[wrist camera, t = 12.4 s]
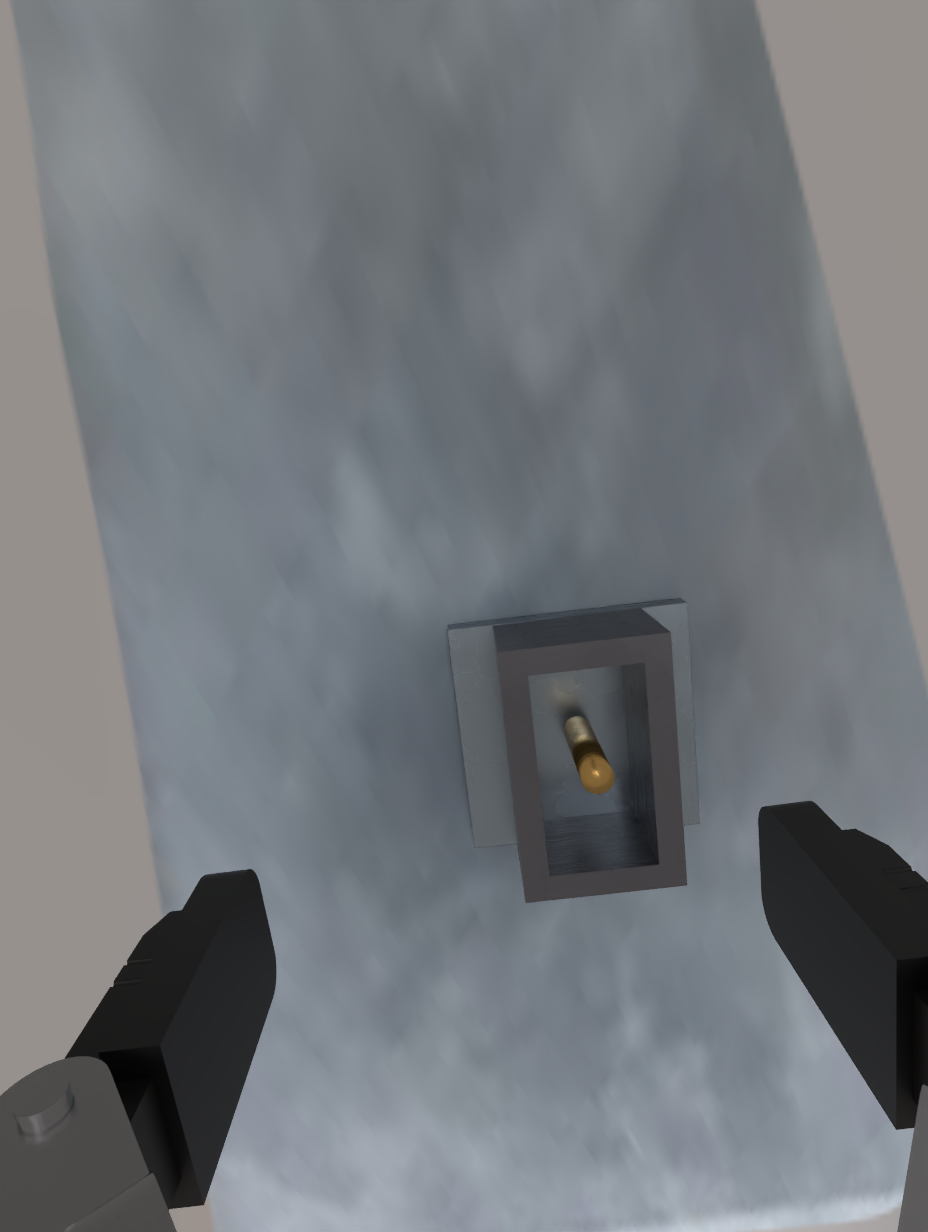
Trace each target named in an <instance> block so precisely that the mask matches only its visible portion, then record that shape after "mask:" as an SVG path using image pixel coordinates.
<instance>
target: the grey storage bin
mask: <svg viewBox="0 0 928 1232" xmlns="http://www.w3.org/2000/svg"><path fill="white" fill-rule="evenodd" d="M492 626H493V635H494V644H495V652H496V661H497V670H498V679H499V688H500V696H501V705H502V714H503V723H504V731H505V740H506V749H507V758H508V766H509V775H510V784H511V793H512V802H513V810H514V819H515V828H516V837H517V845H518V852H519V859H520V866H521V873H522V880H523V887H524V894H525V901H526V903H529V902H538V901H547V900H556V899H566V898H575V897H584V896H593V895H603V894H612V893H621V892H630V891H640V890H649V889H658V888H667V887H677V886H686V885H687V876H686V860H685V845H684V829H683V813H682V797H681V782H680V766H679V750H678V735H677V719H676V703H675V688H674V672H673V656H672V640H671V632H670V631H669V630H668V629H666V628H665V627H664V626H663V625H661V624H660V623H659V622H658V621H656V620H655V619H654V618H653V617H652V616H650V615H649V614H648V613H647V612H645V611H644V610H643V609H642V608H636V609H627V610H619V611H610V612H601V613H593V614H584V615H576V616H567V617H559V618H550V619H541V620H533V621H524V622H516V623H507V624H499V625H492ZM619 665H621V669H622V682H623V695H624V707H625V720H626V733H627V746H628V758H629V771H630V784H631V796H632V809H633V810H628V811H619V812H610V813H601V814H592V815H583V816H574V817H565V818H556V819H547V820H543V813H542V803H541V794H540V784H539V775H538V765H537V756H536V746H535V737H534V727H533V718H532V708H531V699H530V689H529V680H528V676H532V675H541V674H549V673H558V672H567V671H575V670H584V669H593V668H602V667H610V666H619Z"/></svg>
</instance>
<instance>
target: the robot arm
mask: <svg viewBox="0 0 928 1232" xmlns="http://www.w3.org/2000/svg"><path fill="white" fill-rule="evenodd" d="M758 826H759V848H760V870H761V892H762V901H763V907H764V911H765V915H766V919H767V922H768V925H769V927H770V930H771V932H772V934H773V936H774V938H775V940H776V941H777V943H778V944H779V946H780V948H781V949H782V951H783V952H784V954H785V955H786V957H787V959H788V960H789V962H790V963H791V965H792V966H793V968H794V970H795V971H796V973H797V974H798V976H799V977H800V979H801V981H802V982H803V984H804V985H805V987H806V989H807V990H808V992H809V993H810V995H811V996H812V998H813V1000H814V1001H815V1003H816V1004H817V1006H818V1007H819V1009H820V1011H821V1012H822V1014H823V1015H824V1017H825V1018H826V1020H827V1022H828V1023H829V1025H830V1026H831V1028H832V1029H833V1031H834V1033H835V1034H836V1036H837V1037H838V1039H839V1040H840V1042H841V1044H842V1045H843V1047H844V1048H845V1050H846V1052H847V1053H848V1055H849V1056H850V1058H851V1059H852V1061H853V1063H854V1064H855V1066H856V1067H857V1069H858V1070H859V1072H860V1074H861V1075H862V1077H863V1078H864V1080H865V1081H866V1083H867V1085H868V1086H869V1088H870V1089H871V1091H872V1092H873V1094H874V1096H875V1097H876V1099H877V1100H878V1102H879V1103H880V1105H881V1107H882V1108H883V1110H884V1111H885V1113H886V1115H887V1116H888V1118H889V1119H890V1121H891V1122H892V1124H893V1126H894V1127H895V1129H896V1130H898V1129H907V1128H914V1134H913V1140H912V1146H911V1152H910V1158H909V1164H908V1170H907V1176H906V1183H905V1189H904V1195H903V1201H902V1207H901V1214H900V1219H899V1226H898V1231H897V1232H928V882H927V881H926V880H925V879H924V878H923V877H921V876H920V875H919V874H918V873H917V872H916V871H912V869H911V866H910V865H909V864H908V863H907V862H906V861H904V860H903V859H902V858H901V857H900V856H899V855H898V854H897V853H896V852H895V851H894V850H893V849H892V848H891V847H890V846H889V845H887V844H885V843H883V842H881V841H879V840H877V839H875V838H873V837H871V836H869V835H867V834H865V833H863V832H861V831H859V830H857V829H849V830H841V829H840V828H839V827H838V826H837V825H836V824H835V823H834V822H833V821H832V820H831V819H830V818H829V817H828V816H827V815H826V814H825V813H824V812H823V810H822V809H821V808H820V807H819V806H818V805H817V804H815V803H814V802H812V801H805V802H797V803H789V804H781V805H773V806H765V807H762V808H761V809H760V812H759V818H758ZM275 985H276V957H275V951H274V946H273V942H272V938H271V933H270V929H269V924H268V920H267V915H266V911H265V906H264V902H263V897H262V893H261V888H260V884H259V880H258V877H257V875H256V873H255V872H254V871H253V870H252V869H248V870H240V871H232V872H224V873H216V874H208V875H204V876H203V877H202V878H201V879H200V881H199V882H198V884H197V886H196V887H195V889H194V891H193V892H192V894H191V896H190V898H189V899H188V901H187V903H186V904H185V906H184V908H183V909H182V910H180V911H172V912H170V913H168V914H167V915H166V916H165V917H164V918H163V919H161V920H160V921H159V922H158V923H157V924H156V925H154V926H153V927H152V928H151V929H150V930H149V931H148V932H147V933H145V934H144V935H143V937H142V938H141V940H140V941H139V943H138V944H137V946H136V948H135V949H134V951H133V952H132V954H131V955H130V957H129V958H128V960H127V965H125V966H123V968H122V969H121V971H120V973H119V974H118V976H117V977H116V979H115V980H114V986H113V987H110V988H109V990H108V991H107V993H106V994H105V996H104V998H103V999H102V1001H101V1002H100V1004H99V1005H98V1007H97V1009H96V1010H95V1012H94V1013H93V1015H92V1016H91V1018H90V1020H89V1021H88V1023H87V1024H86V1026H85V1027H84V1029H83V1030H82V1032H81V1034H80V1035H79V1037H78V1038H77V1040H76V1042H75V1043H74V1045H73V1046H72V1048H71V1049H70V1051H69V1052H68V1054H67V1056H66V1057H65V1059H63V1060H59V1061H56V1062H53V1063H51V1064H48V1065H46V1066H44V1067H42V1068H39V1069H37V1070H35V1071H34V1072H32V1073H30V1074H29V1075H27V1076H25V1077H24V1078H22V1079H21V1080H20V1081H18V1082H17V1083H15V1084H14V1085H13V1086H11V1087H10V1088H9V1089H8V1090H6V1091H5V1092H4V1093H3V1094H2V1095H1V1096H0V1232H177V1231H176V1229H175V1226H174V1223H173V1221H172V1218H171V1216H170V1213H169V1209H173V1208H182V1207H191V1206H199V1205H204V1203H205V1200H206V1197H207V1194H208V1191H209V1188H210V1185H211V1182H212V1179H213V1176H214V1173H215V1170H216V1167H217V1164H218V1161H219V1158H220V1155H221V1152H222V1149H223V1146H224V1143H225V1140H226V1137H227V1134H228V1131H229V1128H230V1125H231V1122H232V1119H233V1116H234V1113H235V1110H236V1107H237V1104H238V1101H239V1098H240V1095H241V1092H242V1089H243V1086H244V1083H245V1080H246V1077H247V1074H248V1071H249V1068H250V1065H251V1062H252V1059H253V1056H254V1053H255V1050H256V1047H257V1044H258V1041H259V1038H260V1035H261V1032H262V1029H263V1026H264V1023H265V1020H266V1017H267V1014H268V1011H269V1008H270V1005H271V1002H272V999H273V996H274V991H275Z"/></svg>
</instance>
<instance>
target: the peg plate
mask: <svg viewBox="0 0 928 1232" xmlns="http://www.w3.org/2000/svg"><path fill="white" fill-rule="evenodd" d="M636 608H642V609H643V610H644V611H645V612H647V613H648V614H649V615H650V616H652V617H653V618H654V619H655V620H656V621H658V622H659V623H660V624H661V625H663V626H664V627H665V628H666V629H668V630H669V631H670V632H671V640H672V656H673V672H674V688H675V703H676V719H677V735H678V750H679V766H680V782H681V797H682V813H683V826H684V825H693V824H700V820H699V803H698V785H697V767H696V750H695V732H694V714H693V697H692V679H691V662H690V644H689V626H688V609H687V602H685V601H684V600H682V599H680V598H679V599H670V600H662V601H653V602H644V603H636V604H627V605H618V606H610V607H601V608H592V609H584V610H575V611H566V612H557V613H549V614H540V615H531V616H523V617H514V618H505V619H497V620H488V621H479V622H470V623H462V624H453V625H448V638H449V646H450V654H451V662H452V670H453V678H454V686H455V694H456V702H457V710H458V718H459V726H460V734H461V742H462V750H463V758H464V766H465V774H466V782H467V790H468V798H469V806H470V814H471V822H472V830H473V838H474V846H475V848H480V847H490V846H499V845H508V844H517V837H516V828H515V819H514V810H513V802H512V793H511V784H510V775H509V766H508V758H507V749H506V740H505V731H504V723H503V714H502V705H501V696H500V688H499V679H498V670H497V661H496V652H495V644H494V635H493V626H492V625H499V624H507V623H516V622H524V621H533V620H541V619H550V618H559V617H567V616H576V615H584V614H593V613H601V612H610V611H619V610H627V609H636ZM528 680H529V689H530V699H531V708H532V718H533V727H534V737H535V746H536V756H537V765H538V775H539V784H540V794H541V803H542V813H543V820H547V819H556V818H565V817H574V816H583V815H592V814H601V813H610V812H619V811H628V810H633V809H632V796H631V784H630V771H629V758H628V746H627V733H626V720H625V707H624V695H623V682H622V669H621V665H619V666H610V667H602V668H593V669H584V670H575V671H567V672H558V673H549V674H541V675H532V676H528Z"/></svg>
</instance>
